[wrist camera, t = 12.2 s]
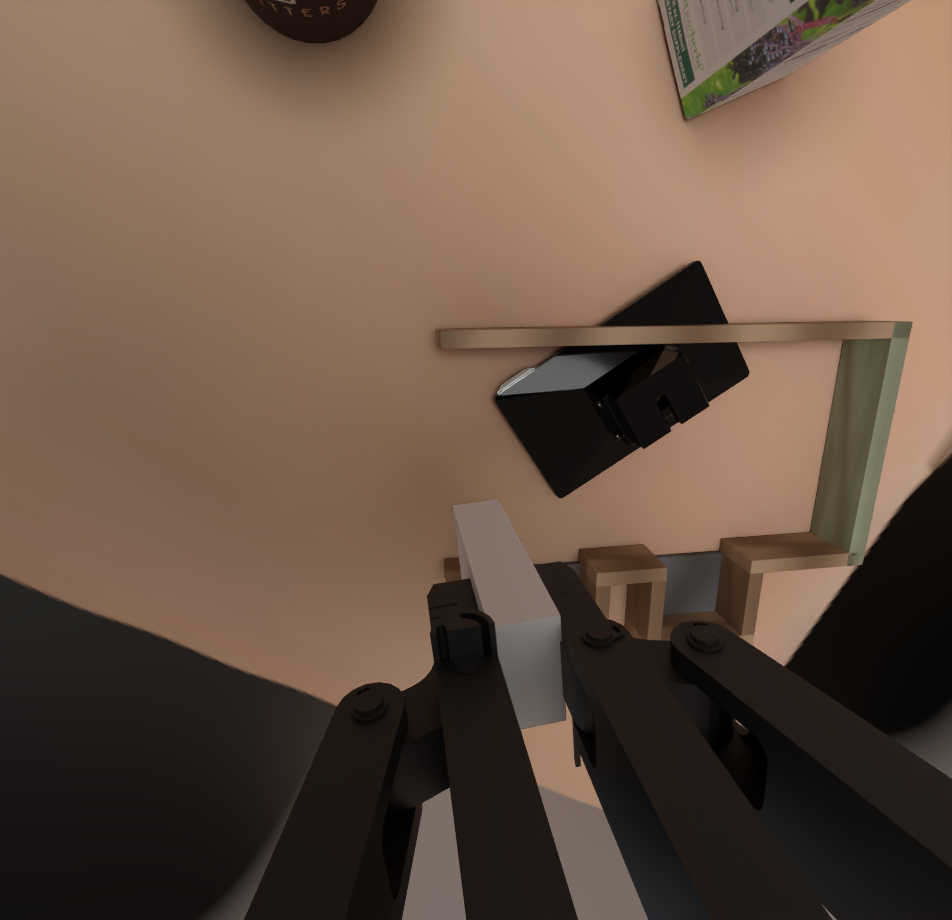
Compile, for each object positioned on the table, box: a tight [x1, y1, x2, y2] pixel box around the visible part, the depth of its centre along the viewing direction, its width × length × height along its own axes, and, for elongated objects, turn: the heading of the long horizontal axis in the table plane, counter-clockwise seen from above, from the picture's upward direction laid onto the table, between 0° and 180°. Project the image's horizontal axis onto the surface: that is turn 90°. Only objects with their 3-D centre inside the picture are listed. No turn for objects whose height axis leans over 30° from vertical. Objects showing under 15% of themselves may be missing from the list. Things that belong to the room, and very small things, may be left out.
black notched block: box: [494, 261, 749, 498], centre depth 26 cm, size 12×7×5 cm, turn 123°
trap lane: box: [436, 321, 912, 645], centre depth 29 cm, size 24×18×3 cm
